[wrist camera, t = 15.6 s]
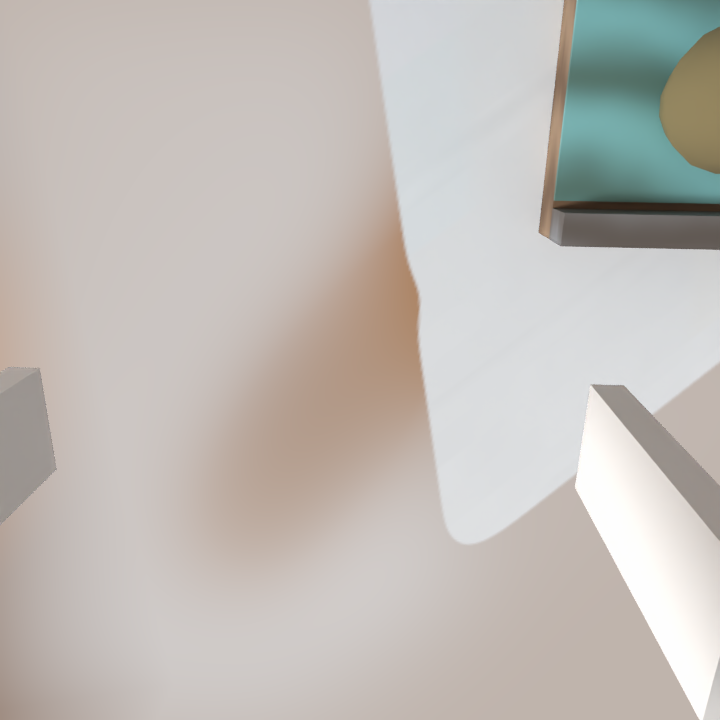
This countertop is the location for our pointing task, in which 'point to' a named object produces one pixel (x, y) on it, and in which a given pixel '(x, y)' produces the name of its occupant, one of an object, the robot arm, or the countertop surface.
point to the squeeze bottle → (695, 104)
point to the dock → (625, 130)
